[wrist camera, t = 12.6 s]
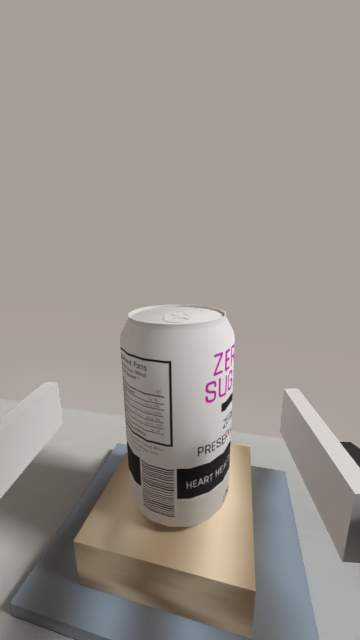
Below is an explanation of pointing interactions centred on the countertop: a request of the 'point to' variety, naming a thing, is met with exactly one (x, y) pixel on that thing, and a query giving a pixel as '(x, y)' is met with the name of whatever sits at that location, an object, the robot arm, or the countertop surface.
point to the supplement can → (178, 410)
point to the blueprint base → (145, 625)
